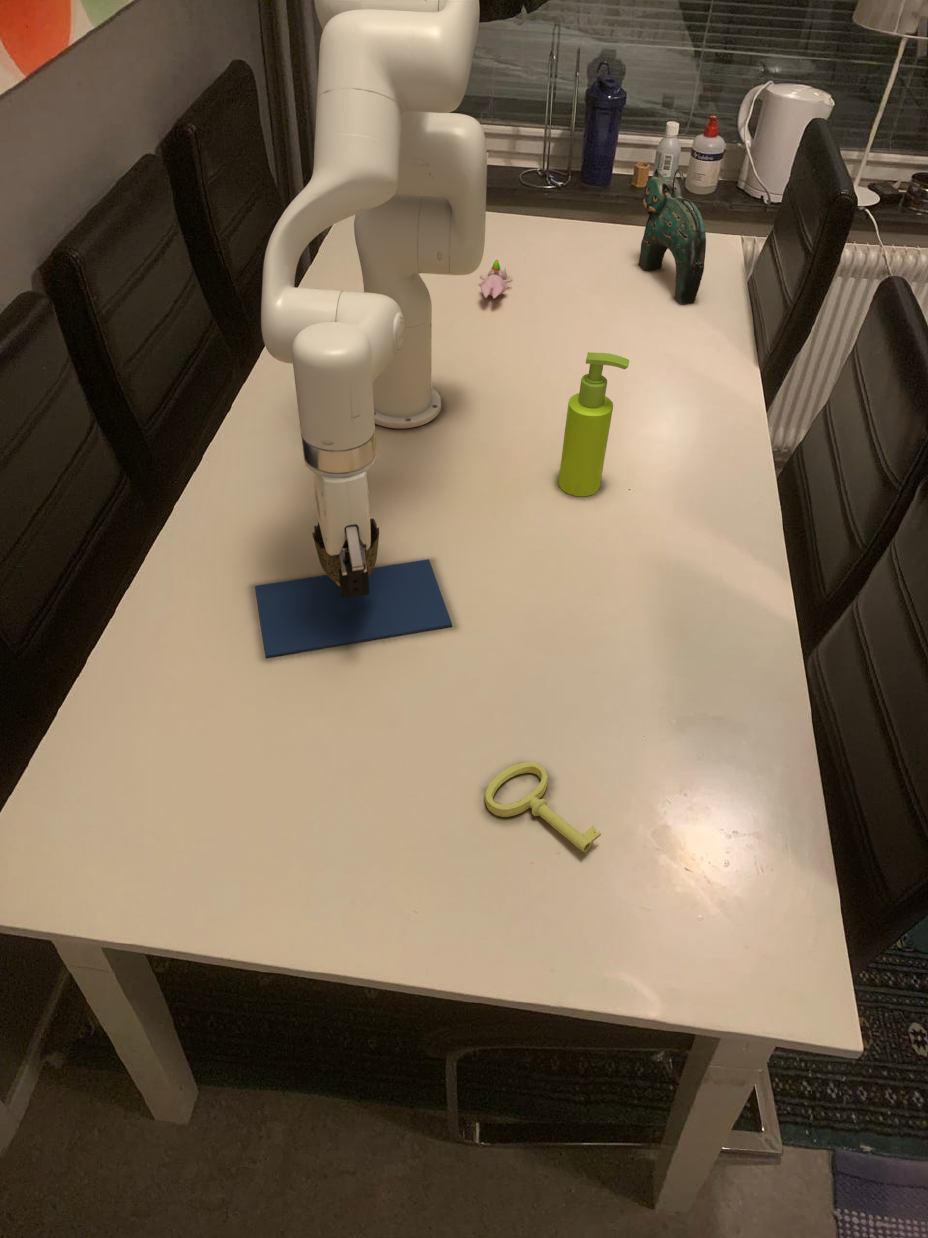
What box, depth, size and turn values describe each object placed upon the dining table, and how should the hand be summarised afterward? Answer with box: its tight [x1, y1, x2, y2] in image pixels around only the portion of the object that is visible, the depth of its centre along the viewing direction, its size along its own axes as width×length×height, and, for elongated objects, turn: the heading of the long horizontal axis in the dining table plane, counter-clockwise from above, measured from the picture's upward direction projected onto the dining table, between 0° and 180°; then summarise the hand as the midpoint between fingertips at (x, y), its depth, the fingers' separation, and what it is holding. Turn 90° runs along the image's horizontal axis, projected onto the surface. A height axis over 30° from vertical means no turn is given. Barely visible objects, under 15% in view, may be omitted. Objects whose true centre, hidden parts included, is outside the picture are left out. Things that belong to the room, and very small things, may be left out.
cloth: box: [254, 558, 453, 659], centre depth 111 cm, size 12×22×1 cm, turn 105°
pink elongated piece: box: [479, 259, 514, 299], centre depth 168 cm, size 6×6×15 cm
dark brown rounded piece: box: [312, 517, 380, 588], centre depth 105 cm, size 8×7×8 cm
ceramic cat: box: [638, 168, 707, 305], centre depth 168 cm, size 20×6×20 cm, turn 17°
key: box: [484, 761, 602, 853], centre depth 91 cm, size 7×12×2 cm, turn 60°
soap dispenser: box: [558, 351, 630, 497], centre depth 122 cm, size 6×7×20 cm
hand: (349, 571), depth 107 cm, fingers closed on dark brown rounded piece, 7 cm apart
